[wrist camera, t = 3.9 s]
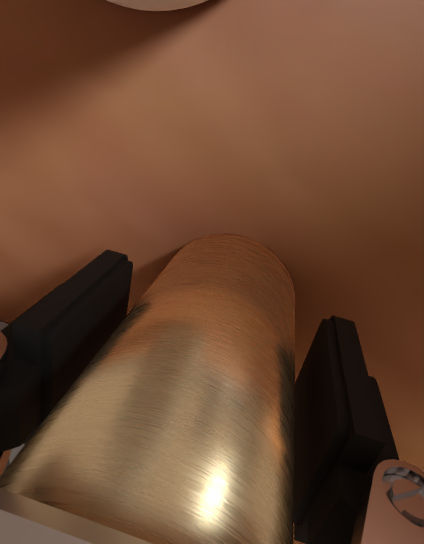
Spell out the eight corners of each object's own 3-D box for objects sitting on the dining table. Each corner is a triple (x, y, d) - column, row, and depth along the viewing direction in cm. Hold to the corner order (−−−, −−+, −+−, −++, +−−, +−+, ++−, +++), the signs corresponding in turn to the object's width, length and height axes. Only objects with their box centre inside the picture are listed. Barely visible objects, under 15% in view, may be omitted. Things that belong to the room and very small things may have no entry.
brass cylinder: (174, 217, 11) (-119, 496, 3) (315, 256, 11) (363, 680, 3) (154, 330, 13) (-58, 675, 5) (272, 367, 13) (233, 799, 5)
